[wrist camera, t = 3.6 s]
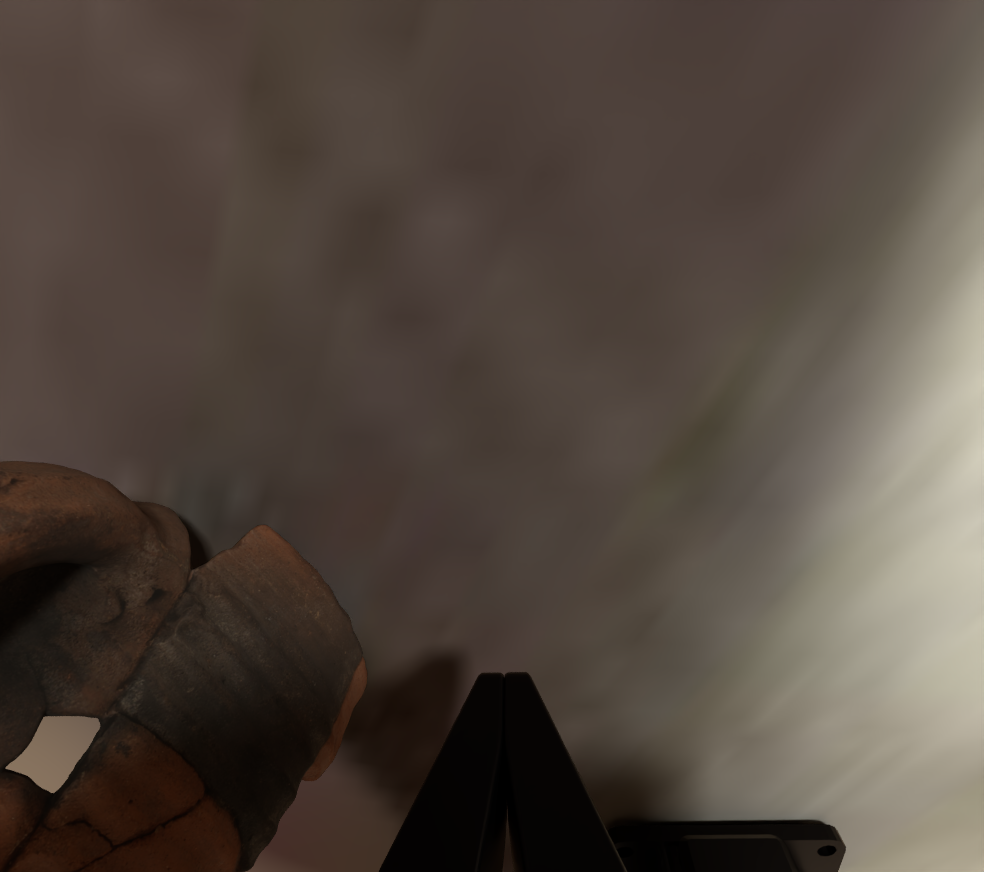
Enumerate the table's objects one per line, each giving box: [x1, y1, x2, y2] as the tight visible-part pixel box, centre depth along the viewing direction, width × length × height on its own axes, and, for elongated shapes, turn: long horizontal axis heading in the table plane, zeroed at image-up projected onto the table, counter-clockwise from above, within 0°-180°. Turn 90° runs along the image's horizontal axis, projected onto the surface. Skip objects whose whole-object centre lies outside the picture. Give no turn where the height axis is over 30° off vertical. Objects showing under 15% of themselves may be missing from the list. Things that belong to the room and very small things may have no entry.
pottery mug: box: [0, 461, 367, 872], centre depth 10 cm, size 12×10×8 cm
